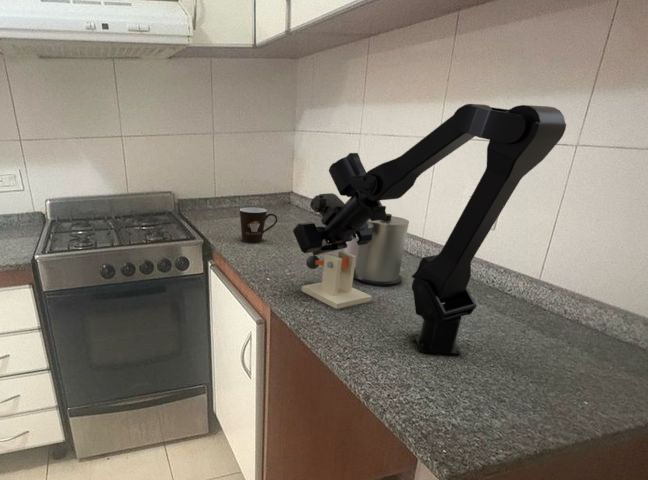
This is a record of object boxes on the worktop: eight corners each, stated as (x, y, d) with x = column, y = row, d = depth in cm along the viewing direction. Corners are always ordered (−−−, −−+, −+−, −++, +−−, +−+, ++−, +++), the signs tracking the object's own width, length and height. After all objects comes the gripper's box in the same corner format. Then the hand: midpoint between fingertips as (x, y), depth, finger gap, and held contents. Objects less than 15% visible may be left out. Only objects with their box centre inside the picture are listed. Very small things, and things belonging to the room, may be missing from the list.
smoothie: (334, 264, 122) (340, 213, 116) (354, 262, 124) (361, 212, 118) (348, 271, 116) (355, 218, 111) (368, 269, 119) (376, 217, 113)
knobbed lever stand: (301, 292, 102) (304, 250, 98) (334, 285, 106) (339, 245, 102) (336, 310, 92) (342, 265, 88) (371, 302, 97) (378, 259, 93)
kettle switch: (303, 269, 105) (303, 256, 104) (314, 267, 106) (313, 254, 106) (338, 271, 94) (337, 256, 94) (349, 269, 96) (349, 254, 95)
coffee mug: (235, 242, 142) (236, 211, 138) (243, 236, 149) (244, 206, 145) (270, 246, 138) (272, 214, 134) (276, 240, 146) (278, 209, 142)
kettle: (372, 293, 102) (383, 222, 95) (335, 278, 111) (343, 212, 105) (416, 281, 110) (430, 215, 103) (379, 268, 119) (389, 207, 112)
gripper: (370, 180, 96) (331, 221, 109) (302, 184, 88) (268, 228, 101) (392, 223, 93) (349, 259, 106) (323, 231, 85) (286, 270, 98)
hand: (314, 253), depth 103 cm, fingers closed
